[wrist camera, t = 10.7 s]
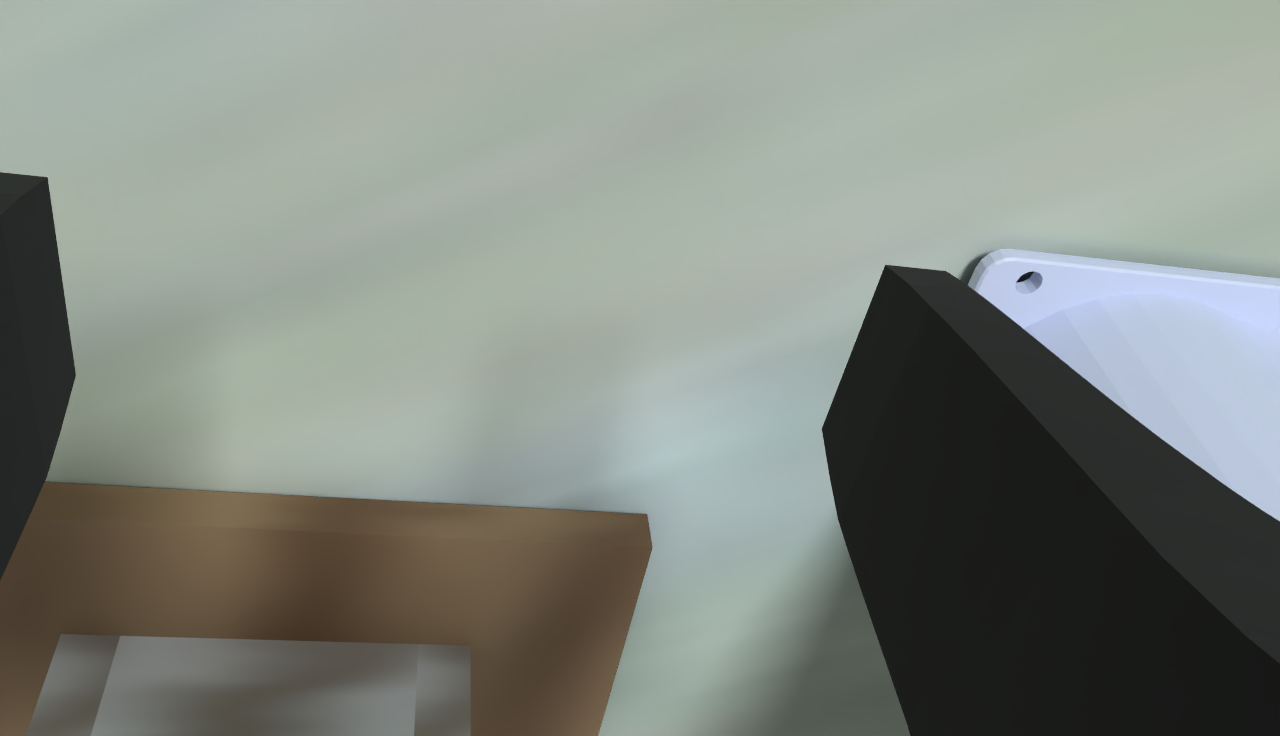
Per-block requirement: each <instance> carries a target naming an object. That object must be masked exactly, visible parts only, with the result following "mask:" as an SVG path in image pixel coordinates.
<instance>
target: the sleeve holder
mask: <svg viewBox="0 0 1280 736" xmlns="http://www.w3.org/2000/svg"><path fill="white" fill-rule="evenodd" d="M651 551H652V542H651V535H650V529H649V523H648V517H647V514H631V513H612V512H594V511H575V510H556V509H538V508H519V507H500V506H482V505H463V504H444V503H425V502H407V501H388V500H369V499H351V498H332V497H313V496H294V495H276V494H257V493H238V492H220V491H201V490H182V489H164V488H145V487H126V486H107V485H89V484H70V483H51V482H44V484H43V487H42V489H41V491H40V494H39V496H38V498H37V501H36V503H35V505H34V507H33V510H32V512H31V514H30V516H29V518H28V521H27V523H26V525H25V527H24V530H23V532H22V534H21V536H20V538H19V541H18V543H17V545H16V547H15V550H14V552H13V554H12V556H11V558H10V561H9V563H8V565H7V567H6V569H5V572H4V574H3V576H2V578H1V580H0V736H598V733H599V730H600V727H601V723H602V720H603V716H604V713H605V709H606V706H607V702H608V699H609V696H610V692H611V689H612V685H613V682H614V678H615V675H616V671H617V668H618V665H619V661H620V658H621V654H622V651H623V647H624V644H625V640H626V637H627V634H628V630H629V627H630V623H631V620H632V616H633V613H634V609H635V606H636V603H637V599H638V596H639V592H640V589H641V585H642V582H643V578H644V575H645V572H646V568H647V565H648V561H649V558H650V554H651Z"/></svg>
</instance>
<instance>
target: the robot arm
mask: <svg viewBox="0 0 1280 736" xmlns="http://www.w3.org/2000/svg"><path fill="white" fill-rule="evenodd" d="M1033 271H1034V273H1033V274H1032V275H1031V277H1030V278H1029V279H1027V280H1025V281H1023V282H1016V281H1017V280H1018V279H1019V278H1020V276H1022V275H1023V274H1025V273H1027V272H1033ZM75 376H76V374H75V367H74V360H73V353H72V346H71V339H70V332H69V325H68V318H67V311H66V304H65V297H64V290H63V283H62V276H61V269H60V262H59V255H58V248H57V241H56V234H55V227H54V220H53V213H52V206H51V199H50V192H49V185H48V178H47V177H39V176H29V175H20V174H10V173H1V172H0V580H1V578H2V576H3V574H4V572H5V569H6V567H7V565H8V563H9V561H10V558H11V556H12V554H13V552H14V550H15V547H16V545H17V543H18V541H19V538H20V536H21V534H22V532H23V530H24V527H25V525H26V523H27V521H28V518H29V516H30V514H31V512H32V510H33V507H34V505H35V503H36V501H37V498H38V496H39V494H40V491H41V489H42V487H43V484H44V482H45V480H46V478H47V474H48V471H49V468H50V465H51V461H52V458H53V455H54V451H55V448H56V445H57V441H58V438H59V435H60V431H61V428H62V424H63V420H64V417H65V413H66V409H67V406H68V402H69V398H70V395H71V391H72V387H73V384H74V380H75ZM822 432H823V438H824V444H825V451H826V457H827V463H828V469H829V475H830V481H831V486H832V491H833V496H834V501H835V506H836V511H837V516H838V520H839V523H840V527H841V530H842V533H843V536H844V539H845V543H846V546H847V549H848V552H849V555H850V558H851V561H852V564H853V567H854V570H855V573H856V576H857V579H858V582H859V585H860V588H861V591H862V594H863V597H864V600H865V603H866V605H867V608H868V611H869V614H870V617H871V620H872V623H873V626H874V629H875V632H876V635H877V637H878V640H879V643H880V646H881V649H882V652H883V655H884V658H885V661H886V664H887V667H888V670H889V672H890V675H891V678H892V681H893V684H894V687H895V690H896V693H897V696H898V699H899V702H900V705H901V707H902V710H903V713H904V716H905V719H906V722H907V725H908V729H909V732H910V735H911V736H1280V278H1271V277H1262V276H1252V275H1243V274H1234V273H1225V272H1216V271H1207V270H1198V269H1189V268H1180V267H1171V266H1162V265H1153V264H1144V263H1135V262H1126V261H1116V260H1107V259H1098V258H1089V257H1080V256H1071V255H1062V254H1053V253H1044V252H1035V251H1026V250H1017V249H999V250H996V251H994V252H991V253H989V254H988V255H986V256H985V257H984V258H982V259H981V260H980V262H979V263H978V265H977V266H976V268H975V270H974V272H973V274H972V277H971V279H970V281H969V283H968V285H966V284H965V283H963V282H962V281H960V280H959V279H957V278H956V277H954V276H953V275H951V274H950V273H948V272H946V271H939V270H929V269H919V268H910V267H900V266H891V265H885V267H884V270H883V272H882V275H881V278H880V280H879V283H878V285H877V288H876V290H875V293H874V296H873V298H872V301H871V303H870V306H869V309H868V311H867V314H866V316H865V319H864V321H863V324H862V327H861V329H860V332H859V334H858V337H857V340H856V342H855V345H854V347H853V350H852V352H851V355H850V358H849V360H848V363H847V365H846V368H845V370H844V373H843V376H842V378H841V381H840V383H839V386H838V389H837V391H836V394H835V396H834V399H833V401H832V404H831V407H830V409H829V412H828V414H827V417H826V420H825V422H824V425H823V427H822Z"/></svg>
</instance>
